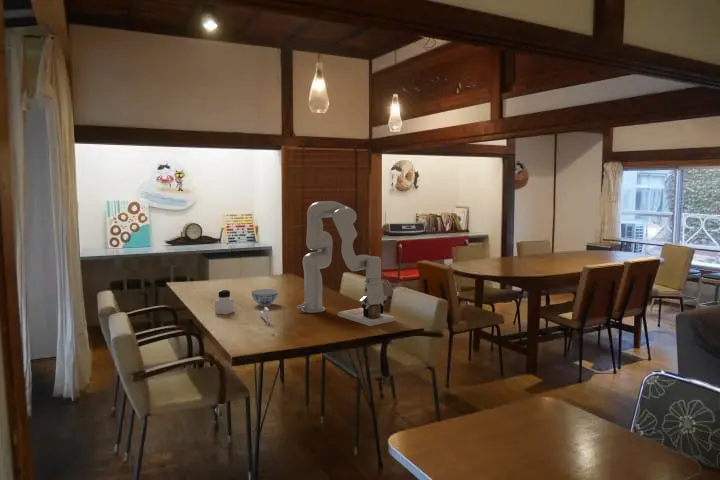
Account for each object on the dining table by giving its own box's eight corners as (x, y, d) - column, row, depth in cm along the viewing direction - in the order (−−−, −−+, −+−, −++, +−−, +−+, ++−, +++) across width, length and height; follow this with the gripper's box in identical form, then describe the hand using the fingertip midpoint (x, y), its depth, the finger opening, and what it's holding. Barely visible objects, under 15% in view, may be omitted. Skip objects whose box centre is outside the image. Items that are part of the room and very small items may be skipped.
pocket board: (370, 326, 258) (370, 321, 257) (337, 315, 278) (337, 311, 278) (394, 320, 268) (394, 316, 268) (361, 311, 288) (361, 307, 288)
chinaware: (272, 308, 294) (272, 294, 293) (247, 307, 297) (247, 293, 296) (282, 302, 308) (282, 289, 308) (257, 301, 311) (257, 288, 311)
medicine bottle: (234, 311, 286) (233, 289, 285) (226, 314, 279) (226, 292, 278) (222, 310, 289) (222, 288, 287) (214, 313, 282) (214, 291, 281)
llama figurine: (270, 336, 261) (262, 315, 276) (272, 317, 256) (264, 296, 271) (266, 337, 261) (258, 315, 275) (268, 318, 256) (260, 297, 270)
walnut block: (372, 322, 265) (372, 306, 264) (366, 320, 268) (366, 304, 268) (380, 321, 268) (380, 305, 267) (373, 319, 272) (373, 303, 271)
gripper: (364, 284, 258) (364, 319, 259) (391, 280, 269) (391, 313, 270) (355, 282, 264) (355, 316, 265) (381, 278, 274) (381, 311, 276)
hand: (373, 314), depth 268 cm, fingers open, 9 cm apart
